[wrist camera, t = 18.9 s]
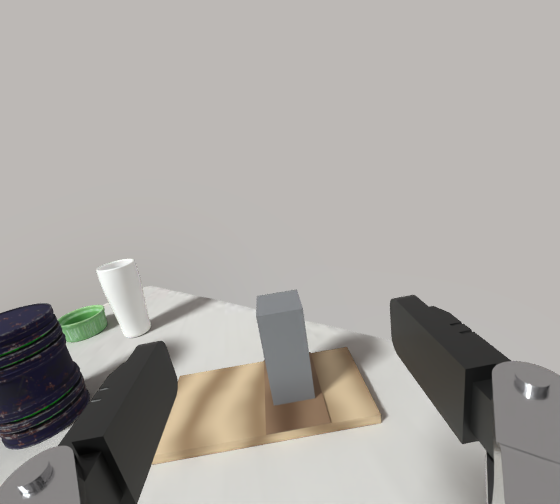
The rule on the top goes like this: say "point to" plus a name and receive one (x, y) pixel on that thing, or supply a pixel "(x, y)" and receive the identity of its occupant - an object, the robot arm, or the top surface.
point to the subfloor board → (262, 408)
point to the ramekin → (83, 323)
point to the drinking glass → (125, 296)
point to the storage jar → (36, 377)
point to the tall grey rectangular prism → (285, 347)
